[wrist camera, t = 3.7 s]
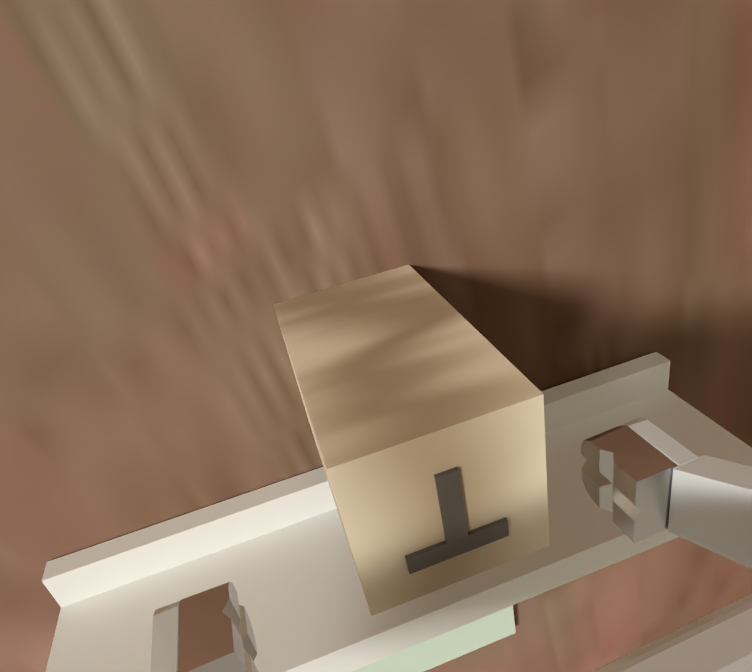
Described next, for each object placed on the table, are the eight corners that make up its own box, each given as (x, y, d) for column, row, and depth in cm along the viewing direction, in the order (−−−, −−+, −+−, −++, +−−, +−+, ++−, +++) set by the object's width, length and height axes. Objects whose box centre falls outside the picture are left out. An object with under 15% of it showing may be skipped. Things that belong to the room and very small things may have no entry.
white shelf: (656, 351, 23) (791, 437, 18) (650, 427, 25) (770, 524, 20) (47, 561, 19) (-9, 751, 14) (97, 632, 21) (65, 821, 16)
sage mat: (499, 500, 24) (503, 507, 24) (511, 625, 28) (515, 632, 28) (297, 576, 22) (299, 584, 22) (343, 696, 27) (345, 704, 27)
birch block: (408, 264, 18) (546, 396, 11) (427, 378, 20) (551, 548, 13) (273, 304, 17) (328, 472, 10) (307, 418, 19) (372, 620, 12)
